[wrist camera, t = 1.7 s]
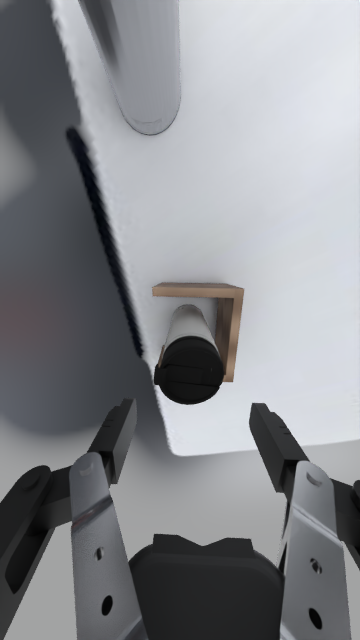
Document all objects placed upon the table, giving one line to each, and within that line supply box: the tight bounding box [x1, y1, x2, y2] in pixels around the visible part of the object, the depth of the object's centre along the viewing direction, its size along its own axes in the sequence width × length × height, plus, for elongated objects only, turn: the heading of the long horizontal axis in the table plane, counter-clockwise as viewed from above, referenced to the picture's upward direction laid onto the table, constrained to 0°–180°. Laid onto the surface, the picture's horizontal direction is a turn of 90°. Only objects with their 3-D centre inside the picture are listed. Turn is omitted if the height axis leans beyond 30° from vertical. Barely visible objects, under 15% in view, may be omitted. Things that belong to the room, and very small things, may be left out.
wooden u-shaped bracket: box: [152, 283, 244, 382], centre depth 29 cm, size 14×12×10 cm
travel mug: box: [154, 305, 224, 405], centre depth 24 cm, size 6×7×20 cm
